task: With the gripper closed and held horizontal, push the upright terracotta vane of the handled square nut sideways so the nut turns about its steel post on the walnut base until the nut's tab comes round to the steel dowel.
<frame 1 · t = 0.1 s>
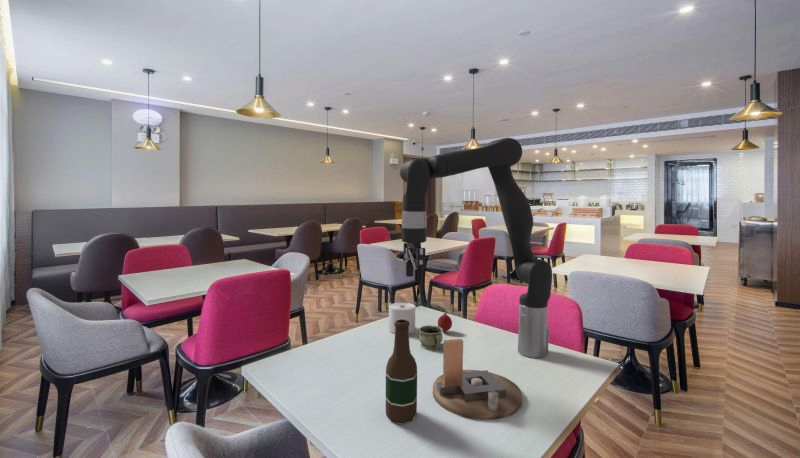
hand: (413, 279, 117), 29 cm above the table, tool pointing down, fingers open, 8 cm apart
red oval fruit: (444, 332, 154), on the table
handled square nut: (468, 364, 104), point 9 cm above the table, hinge at 0.0°
post base: (476, 394, 105), on the table
beer bottle: (401, 416, 95), on the table
vessel: (430, 346, 140), on the table
toilet tissue: (400, 330, 156), on the table
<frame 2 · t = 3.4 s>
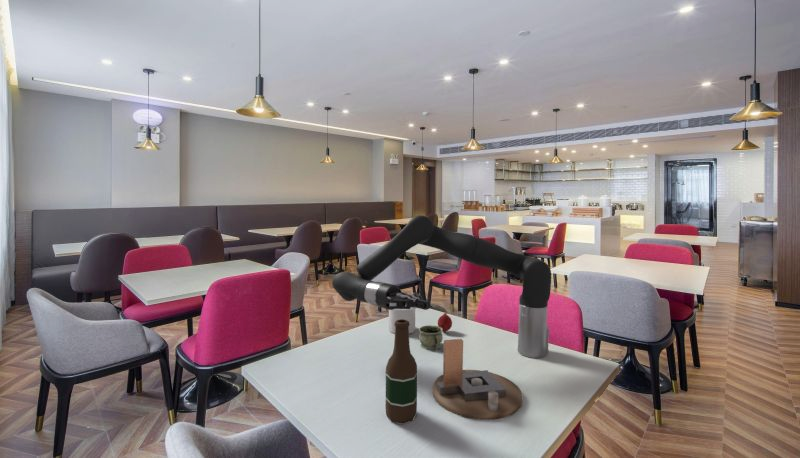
hand: (428, 305, 107), 24 cm above the table, tool horizontal, fingers closed
nothing on the table moved.
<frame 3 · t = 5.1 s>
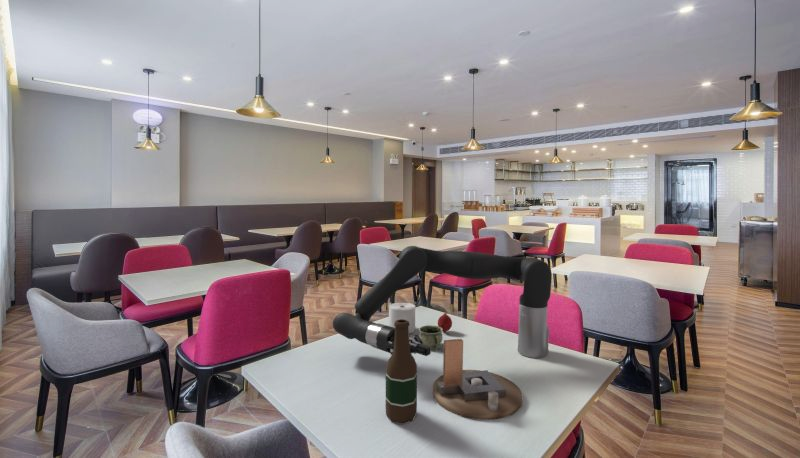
hand: (428, 352, 108), 10 cm above the table, tool horizontal, fingers closed
nothing on the table moved.
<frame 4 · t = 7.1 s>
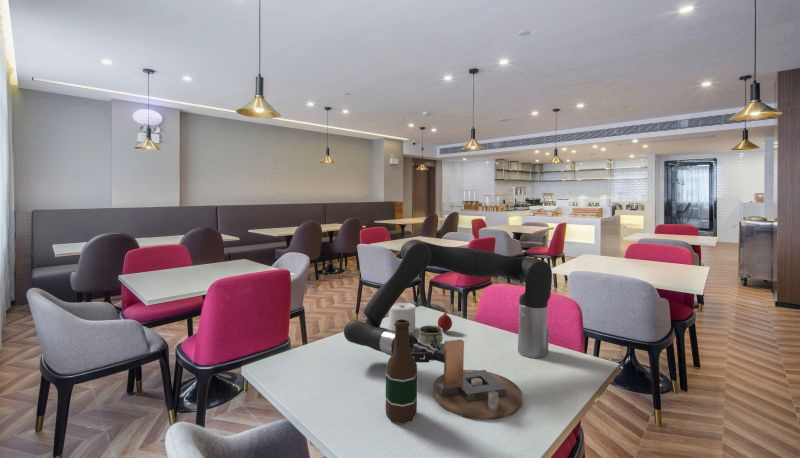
hand: (447, 358, 103), 11 cm above the table, tool horizontal, fingers closed
handled square nut: (468, 364, 104), point 9 cm above the table, hinge at 4.4°
everything else where it was.
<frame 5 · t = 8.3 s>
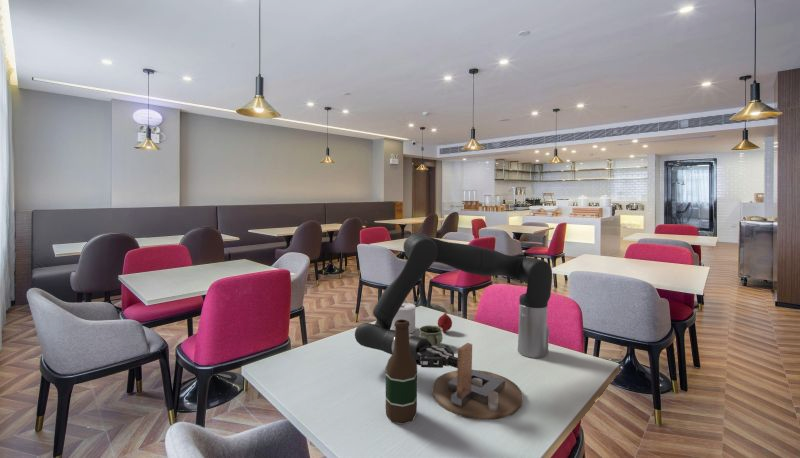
hand: (462, 364, 100), 11 cm above the table, tool horizontal, fingers closed
handled square nut: (472, 366, 103), point 9 cm above the table, hinge at 39.2°, touching gripper
everything else where it was.
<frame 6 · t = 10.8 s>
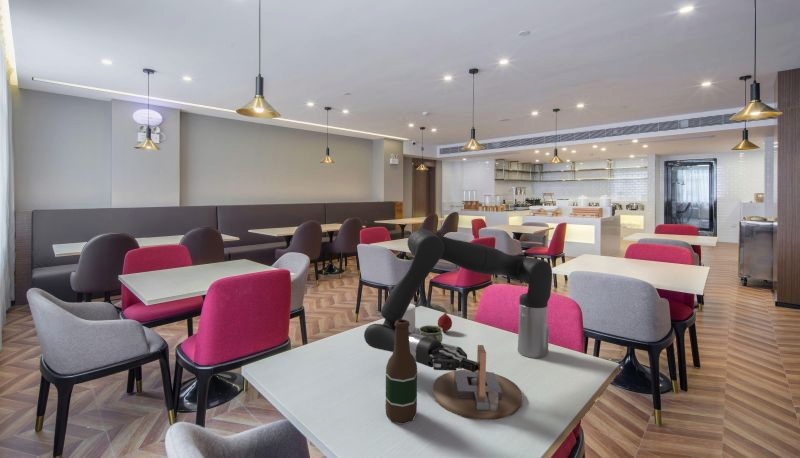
hand: (476, 367, 98), 11 cm above the table, tool horizontal, fingers closed
handled square nut: (478, 367, 102), point 9 cm above the table, hinge at 74.4°, touching gripper, post base
everything else where it was.
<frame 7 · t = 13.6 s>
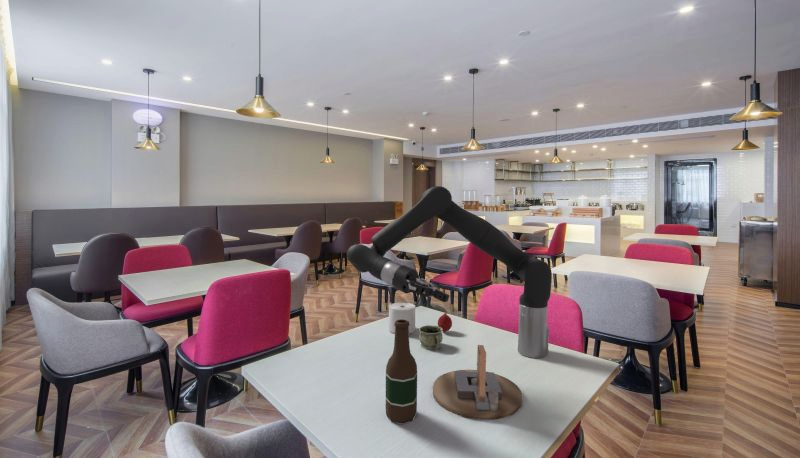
hand: (447, 298, 106), 26 cm above the table, tool horizontal, fingers closed
handled square nut: (478, 367, 102), point 9 cm above the table, hinge at 74.4°, touching post base
everything else where it was.
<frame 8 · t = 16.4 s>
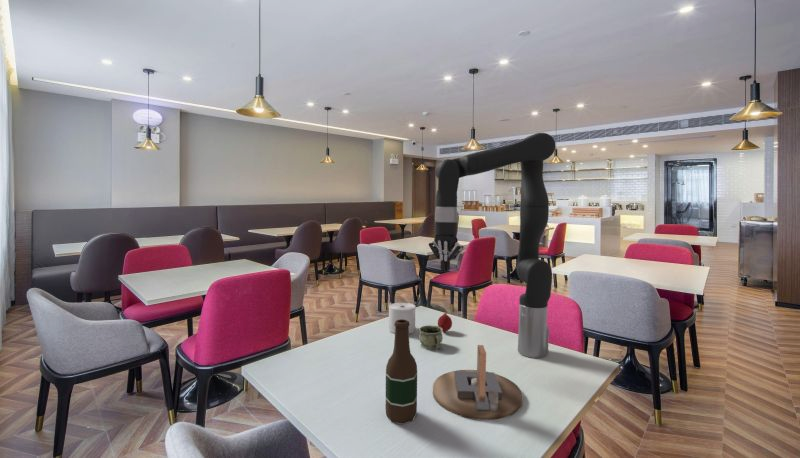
hand: (445, 271, 129), 29 cm above the table, tool pointing down, fingers closed
nothing on the table moved.
at the end: handled square nut at +74° (first picture: +0°) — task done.
